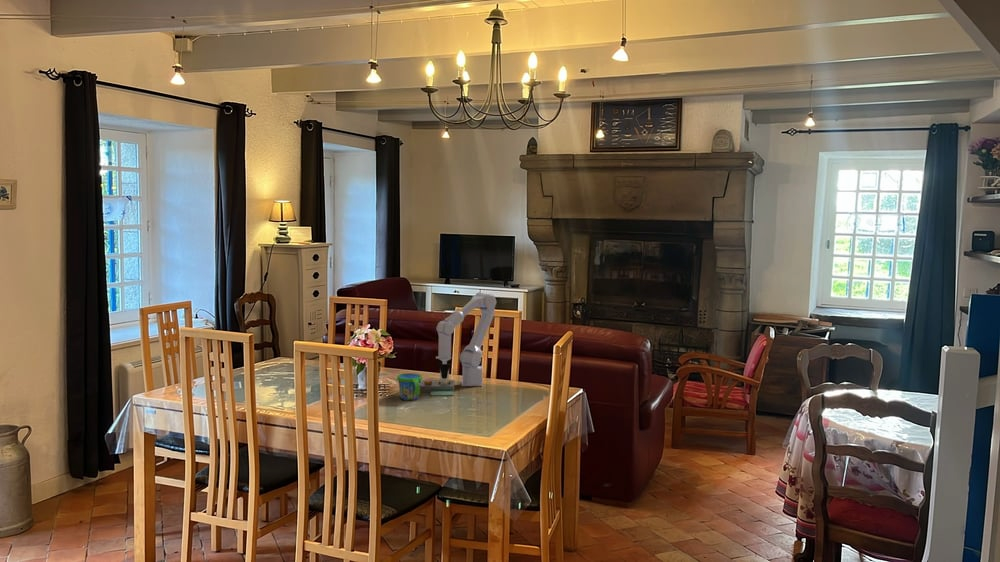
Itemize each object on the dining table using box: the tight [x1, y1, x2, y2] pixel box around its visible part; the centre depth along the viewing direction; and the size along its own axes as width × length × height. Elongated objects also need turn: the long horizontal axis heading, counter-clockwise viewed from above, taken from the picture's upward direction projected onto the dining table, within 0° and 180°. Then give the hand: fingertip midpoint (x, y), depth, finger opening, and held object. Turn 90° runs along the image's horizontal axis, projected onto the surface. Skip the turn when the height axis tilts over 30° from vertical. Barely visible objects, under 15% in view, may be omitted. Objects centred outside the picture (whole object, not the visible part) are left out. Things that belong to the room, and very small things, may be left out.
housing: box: [420, 379, 455, 393], centre depth 338 cm, size 15×12×2 cm
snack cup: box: [396, 373, 423, 401], centre depth 318 cm, size 16×10×10 cm
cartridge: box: [439, 369, 450, 384], centre depth 338 cm, size 4×4×9 cm
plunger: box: [423, 379, 433, 384], centre depth 338 cm, size 4×4×3 cm
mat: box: [430, 391, 454, 397], centre depth 328 cm, size 10×6×1 cm, turn 94°
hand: (444, 376), depth 338 cm, fingers open, 7 cm apart
